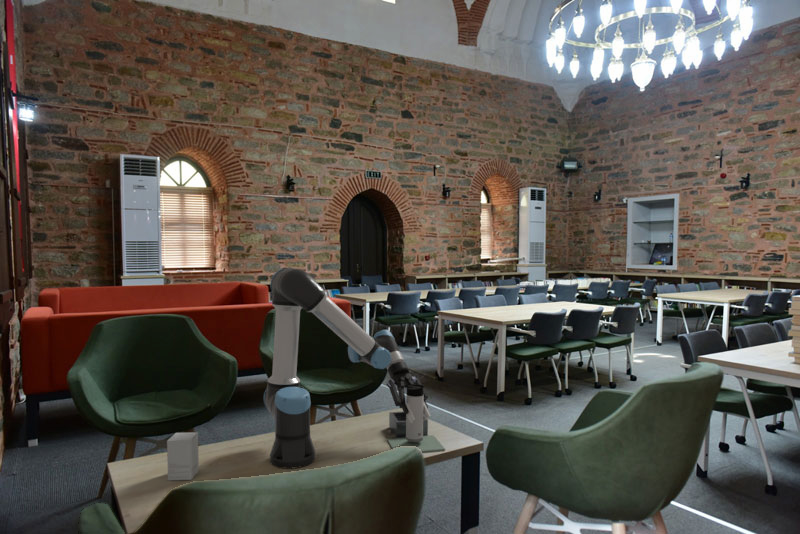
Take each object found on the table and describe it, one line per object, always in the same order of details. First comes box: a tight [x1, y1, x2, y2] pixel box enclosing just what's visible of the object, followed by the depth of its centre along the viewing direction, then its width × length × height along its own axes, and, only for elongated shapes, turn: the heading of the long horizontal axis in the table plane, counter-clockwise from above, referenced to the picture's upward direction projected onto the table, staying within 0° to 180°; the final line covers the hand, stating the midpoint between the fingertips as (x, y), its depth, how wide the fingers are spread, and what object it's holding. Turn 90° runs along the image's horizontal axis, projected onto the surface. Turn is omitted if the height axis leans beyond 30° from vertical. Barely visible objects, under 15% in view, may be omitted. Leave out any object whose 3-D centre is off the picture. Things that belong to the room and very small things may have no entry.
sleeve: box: [388, 411, 429, 438], centre depth 206 cm, size 12×12×6 cm
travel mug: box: [405, 384, 426, 442], centre depth 192 cm, size 6×7×20 cm
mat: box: [387, 434, 446, 453], centre depth 191 cm, size 18×14×1 cm
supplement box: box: [166, 431, 200, 481], centre depth 165 cm, size 7×7×13 cm
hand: (420, 419), depth 189 cm, fingers closed on travel mug, 6 cm apart
